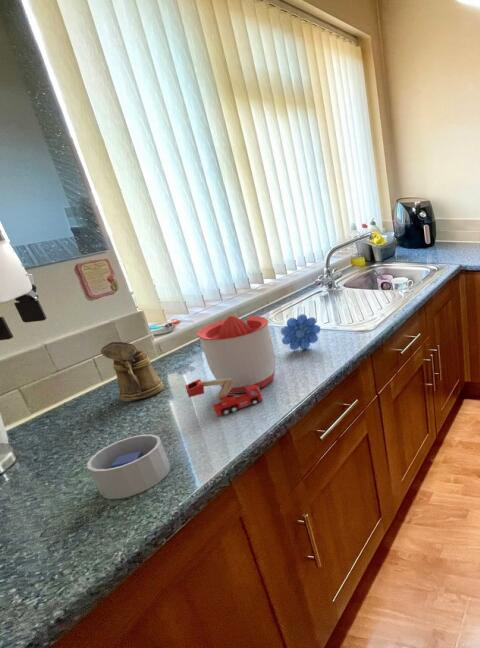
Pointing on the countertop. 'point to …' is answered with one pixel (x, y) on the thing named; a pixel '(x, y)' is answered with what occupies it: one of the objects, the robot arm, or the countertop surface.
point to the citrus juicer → (239, 351)
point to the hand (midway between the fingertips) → (18, 329)
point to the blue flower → (300, 332)
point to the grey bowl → (129, 467)
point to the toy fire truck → (226, 395)
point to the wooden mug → (133, 371)
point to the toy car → (126, 459)
